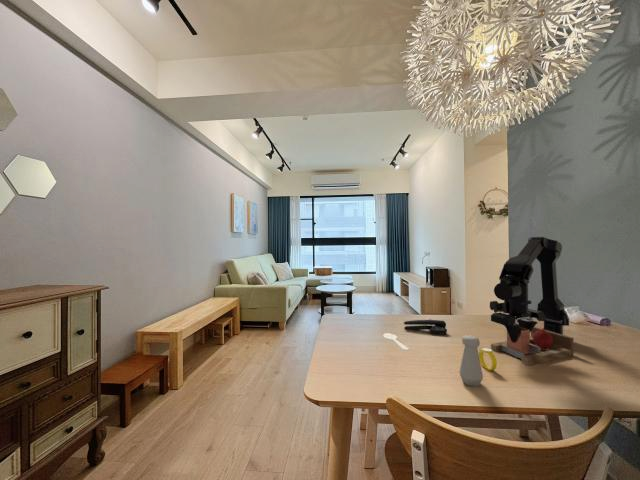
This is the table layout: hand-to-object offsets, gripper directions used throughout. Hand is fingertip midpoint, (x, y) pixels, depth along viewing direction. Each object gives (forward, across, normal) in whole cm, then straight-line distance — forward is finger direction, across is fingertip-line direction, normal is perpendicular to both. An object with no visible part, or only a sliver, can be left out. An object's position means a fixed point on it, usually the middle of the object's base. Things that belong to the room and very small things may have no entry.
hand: (518, 341), depth 95 cm
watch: (+5, +19, +4) cm, 20 cm away
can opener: (+5, +14, -31) cm, 34 cm away
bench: (+5, -6, 0) cm, 8 cm away
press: (+4, -1, 0) cm, 4 cm away
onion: (+5, -12, 0) cm, 13 cm away
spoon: (+5, +33, -25) cm, 41 cm away
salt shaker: (+5, +31, +9) cm, 32 cm away
